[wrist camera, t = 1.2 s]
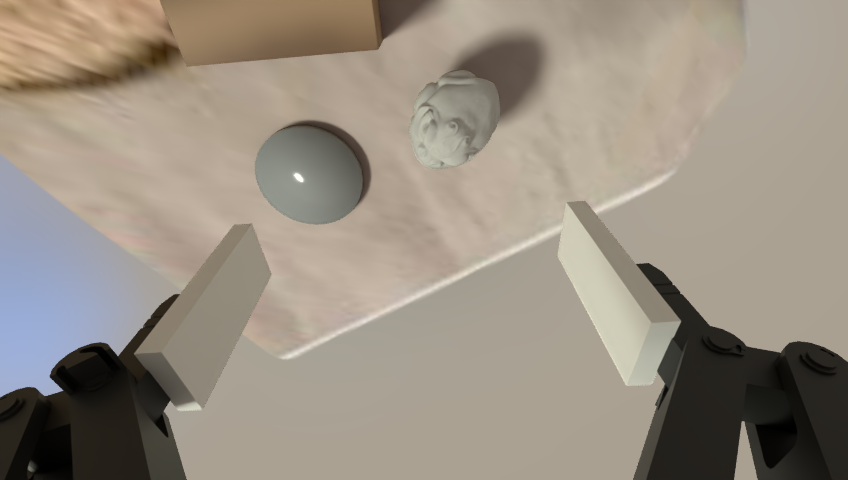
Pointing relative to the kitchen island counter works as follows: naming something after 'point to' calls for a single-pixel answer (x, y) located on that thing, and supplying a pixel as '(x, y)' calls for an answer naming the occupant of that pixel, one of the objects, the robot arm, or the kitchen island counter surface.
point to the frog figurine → (453, 119)
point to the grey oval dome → (309, 174)
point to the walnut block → (271, 28)
